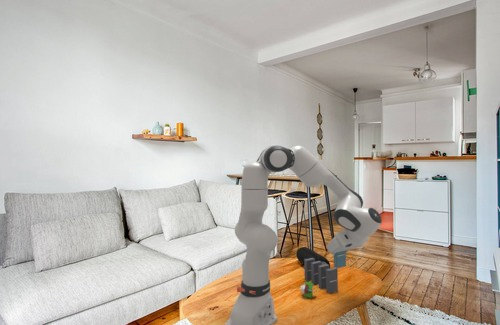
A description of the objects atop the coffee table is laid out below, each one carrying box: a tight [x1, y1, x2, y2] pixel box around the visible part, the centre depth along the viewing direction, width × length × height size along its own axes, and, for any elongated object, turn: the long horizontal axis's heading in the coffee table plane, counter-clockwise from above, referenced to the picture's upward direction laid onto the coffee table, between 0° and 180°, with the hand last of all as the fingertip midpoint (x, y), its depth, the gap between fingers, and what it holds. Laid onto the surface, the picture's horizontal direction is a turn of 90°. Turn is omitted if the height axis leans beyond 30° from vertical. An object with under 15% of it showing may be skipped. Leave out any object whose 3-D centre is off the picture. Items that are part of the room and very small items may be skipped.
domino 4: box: [325, 266, 339, 295], centre depth 138 cm, size 2×6×11 cm, turn 118°
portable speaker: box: [296, 246, 331, 269], centre depth 169 cm, size 26×10×10 cm, turn 18°
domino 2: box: [310, 261, 322, 286], centre depth 147 cm, size 2×6×11 cm, turn 118°
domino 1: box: [303, 258, 315, 282], centre depth 152 cm, size 2×6×11 cm, turn 118°
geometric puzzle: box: [299, 280, 317, 299], centre depth 133 cm, size 7×7×8 cm
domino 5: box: [333, 250, 347, 269], centre depth 133 cm, size 2×6×11 cm, turn 118°
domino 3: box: [318, 264, 329, 290], centre depth 142 cm, size 2×6×11 cm, turn 118°
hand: (338, 252), depth 133 cm, fingers closed on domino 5, 6 cm apart
